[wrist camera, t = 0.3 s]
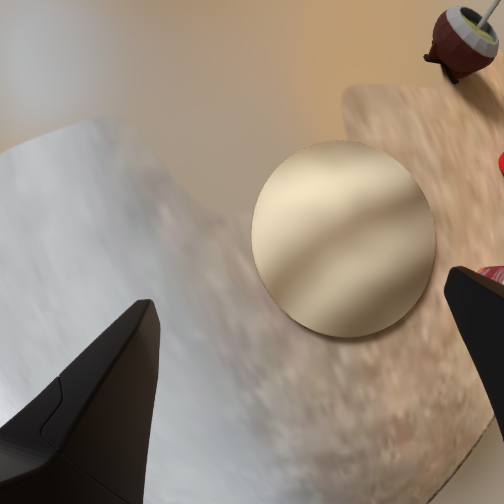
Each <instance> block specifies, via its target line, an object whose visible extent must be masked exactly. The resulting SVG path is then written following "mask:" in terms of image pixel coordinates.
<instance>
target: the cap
mask: <svg viewBox="0 0 504 504" xmlns="http://www.w3.org/2000/svg"><path fill="white" fill-rule="evenodd" d="M499 168H500V170H501V171H502V173H503V174H504V152H503V153H502V155H501V156H500V158H499Z"/></svg>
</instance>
